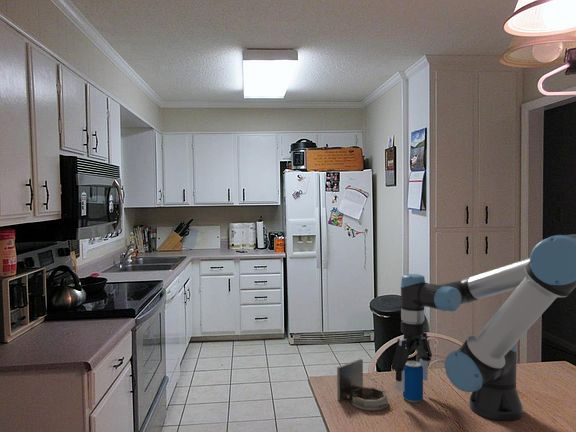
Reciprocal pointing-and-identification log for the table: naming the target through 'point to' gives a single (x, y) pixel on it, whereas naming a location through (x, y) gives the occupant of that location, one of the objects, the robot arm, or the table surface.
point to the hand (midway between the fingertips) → (412, 384)
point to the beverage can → (413, 381)
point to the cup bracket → (358, 388)
